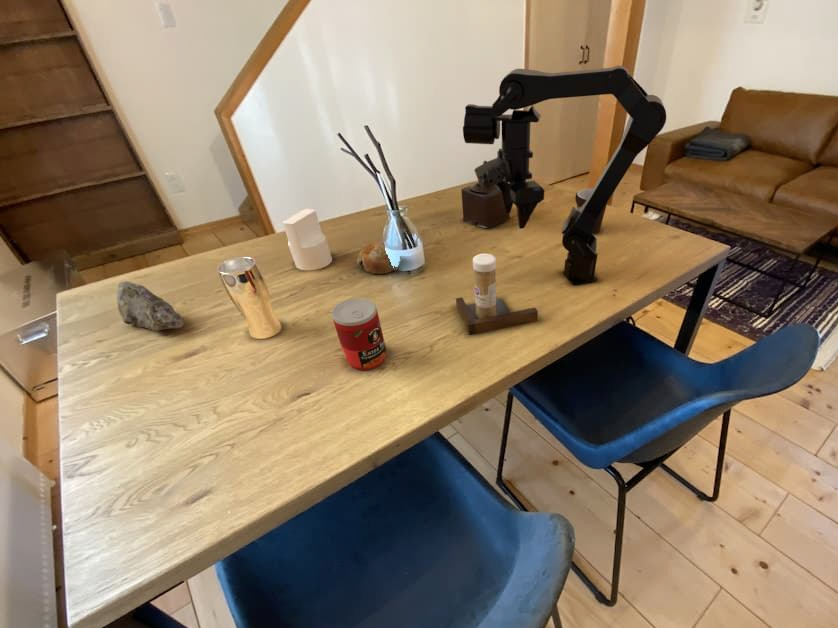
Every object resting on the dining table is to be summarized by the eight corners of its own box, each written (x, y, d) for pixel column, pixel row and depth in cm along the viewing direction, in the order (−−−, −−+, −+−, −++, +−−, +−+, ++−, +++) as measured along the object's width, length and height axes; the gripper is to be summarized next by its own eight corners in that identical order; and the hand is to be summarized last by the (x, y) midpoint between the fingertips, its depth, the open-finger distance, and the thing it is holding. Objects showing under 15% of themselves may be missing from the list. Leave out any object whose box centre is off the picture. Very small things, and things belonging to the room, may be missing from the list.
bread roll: (387, 289, 109) (395, 264, 103) (349, 270, 107) (355, 243, 102) (402, 270, 116) (410, 245, 111) (366, 251, 114) (372, 226, 109)
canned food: (368, 376, 80) (353, 327, 72) (337, 361, 83) (320, 313, 75) (396, 353, 84) (385, 305, 77) (366, 340, 88) (353, 293, 80)
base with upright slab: (318, 272, 108) (302, 225, 100) (288, 267, 110) (270, 221, 102) (339, 256, 115) (326, 211, 106) (310, 251, 117) (295, 207, 109)
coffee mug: (605, 236, 122) (611, 200, 115) (575, 236, 122) (579, 200, 116) (599, 219, 131) (604, 184, 124) (570, 219, 131) (574, 185, 124)
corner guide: (520, 295, 100) (520, 286, 98) (537, 320, 92) (538, 311, 90) (456, 308, 96) (455, 298, 94) (469, 335, 89) (468, 325, 87)
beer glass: (249, 344, 87) (215, 277, 77) (246, 326, 92) (214, 261, 82) (286, 334, 89) (258, 268, 79) (281, 317, 94) (254, 252, 84)
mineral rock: (188, 334, 90) (162, 291, 83) (126, 352, 86) (94, 309, 79) (183, 305, 98) (159, 264, 91) (127, 320, 94) (97, 278, 87)
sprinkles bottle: (471, 316, 93) (467, 258, 84) (485, 307, 96) (483, 250, 87) (487, 324, 91) (484, 266, 82) (501, 315, 93) (500, 257, 84)
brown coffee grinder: (460, 221, 130) (455, 156, 118) (484, 210, 137) (482, 147, 125) (500, 235, 123) (499, 168, 111) (524, 222, 129) (525, 157, 117)
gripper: (465, 137, 93) (469, 209, 104) (492, 162, 80) (493, 242, 91) (514, 132, 96) (513, 203, 106) (547, 156, 83) (542, 235, 93)
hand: (514, 220), depth 99 cm, fingers open, 9 cm apart
